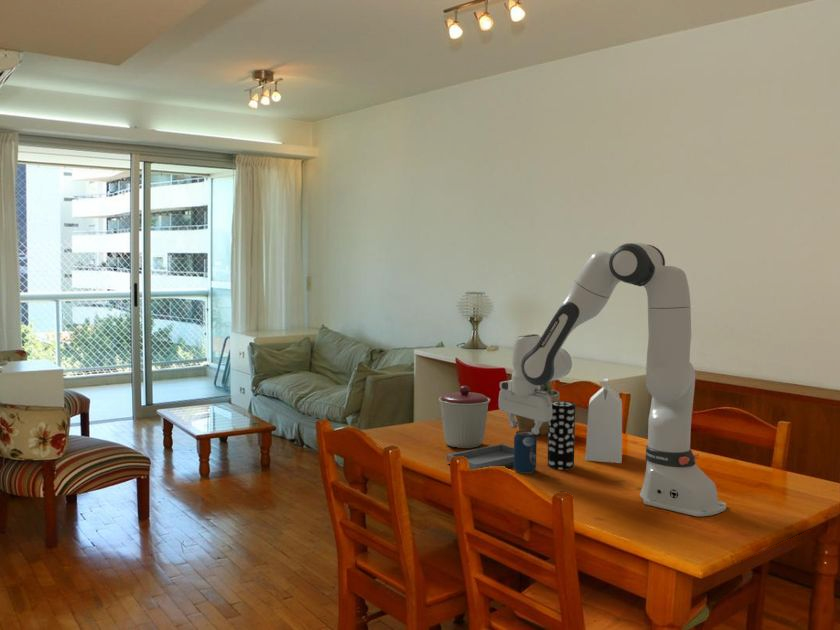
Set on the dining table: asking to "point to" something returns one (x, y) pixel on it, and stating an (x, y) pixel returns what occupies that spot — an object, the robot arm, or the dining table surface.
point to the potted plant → (528, 423)
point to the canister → (464, 418)
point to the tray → (488, 456)
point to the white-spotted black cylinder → (561, 436)
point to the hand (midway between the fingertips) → (524, 430)
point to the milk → (604, 426)
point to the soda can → (525, 452)
